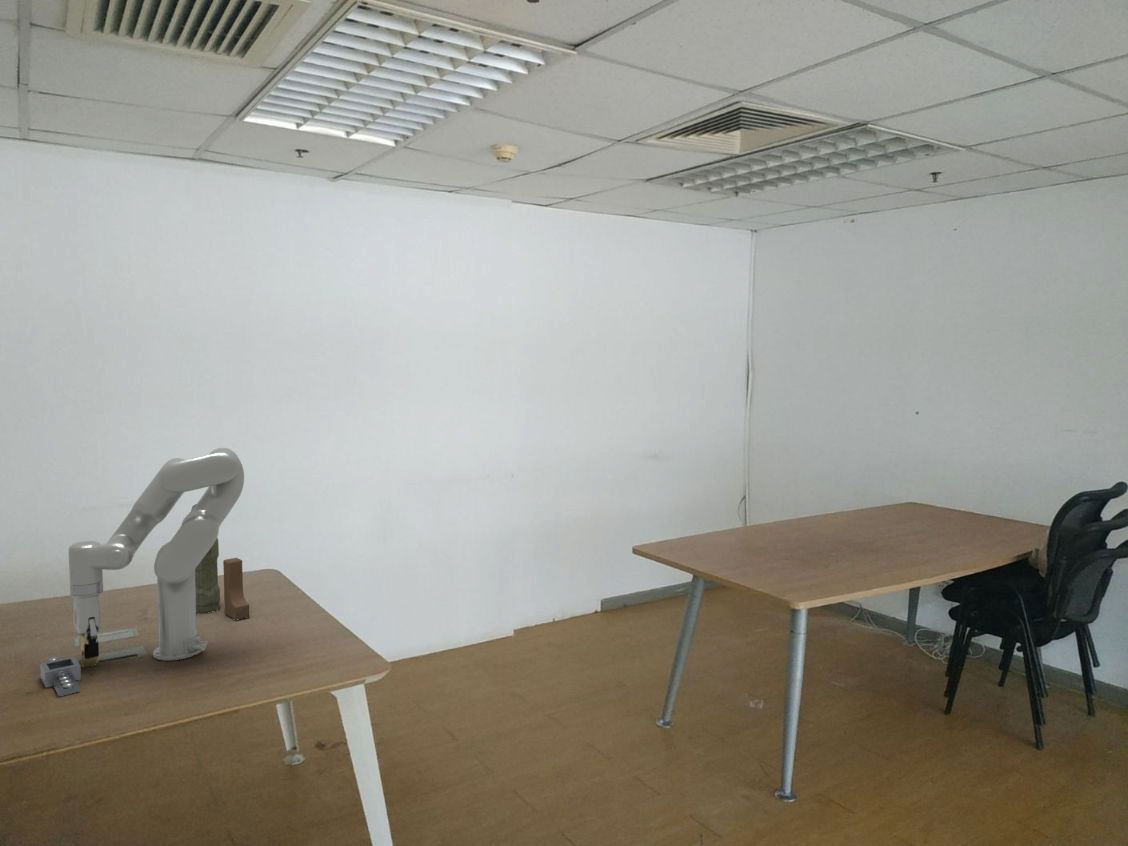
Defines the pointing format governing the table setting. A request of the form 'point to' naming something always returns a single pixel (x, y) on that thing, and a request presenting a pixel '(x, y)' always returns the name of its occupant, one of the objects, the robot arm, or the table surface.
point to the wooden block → (234, 589)
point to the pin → (84, 661)
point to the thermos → (207, 581)
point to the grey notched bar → (61, 675)
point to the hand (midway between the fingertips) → (89, 653)
